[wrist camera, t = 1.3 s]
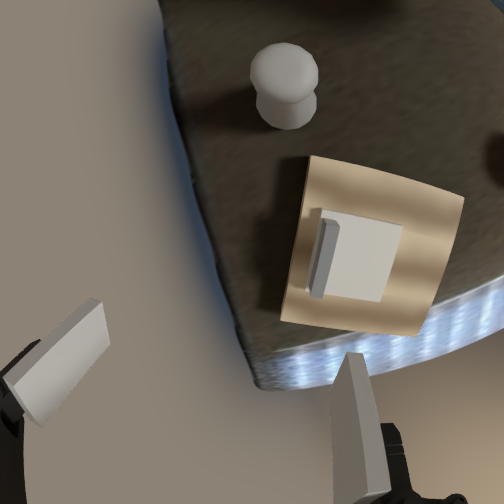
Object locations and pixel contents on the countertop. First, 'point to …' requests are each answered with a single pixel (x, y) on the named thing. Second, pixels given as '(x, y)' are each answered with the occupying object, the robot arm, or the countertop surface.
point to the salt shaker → (285, 85)
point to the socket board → (406, 259)
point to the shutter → (352, 256)
